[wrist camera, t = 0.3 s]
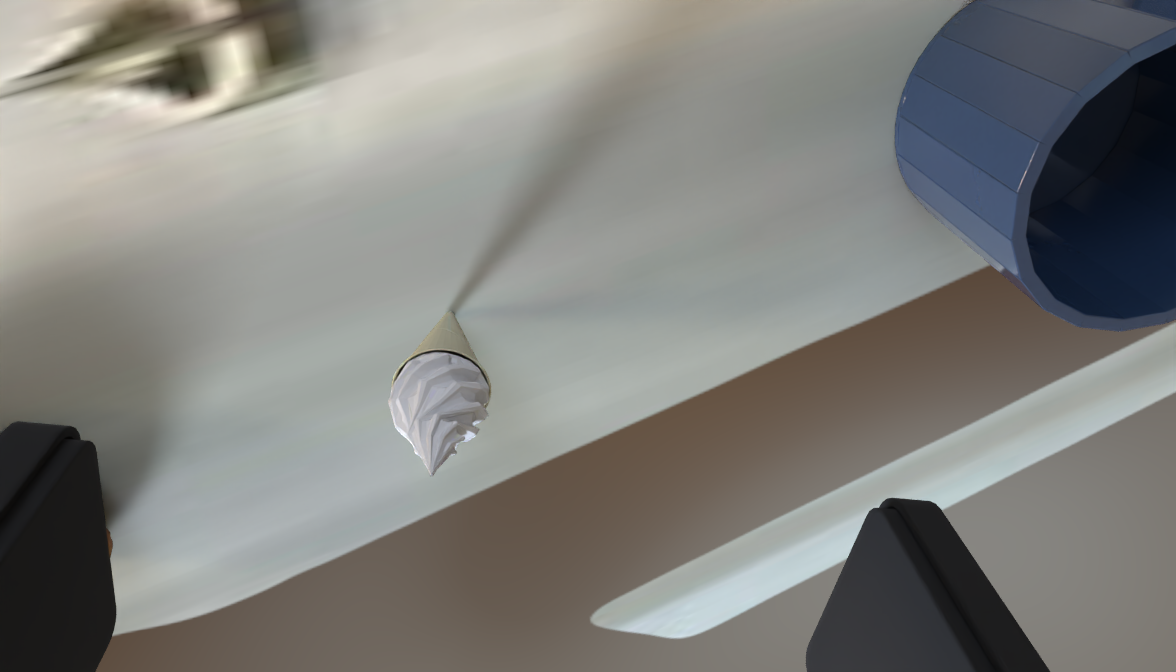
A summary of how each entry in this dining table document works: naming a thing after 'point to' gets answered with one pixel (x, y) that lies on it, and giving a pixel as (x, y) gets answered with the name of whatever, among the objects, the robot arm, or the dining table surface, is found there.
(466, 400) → the ice cream cone
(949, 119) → the pot
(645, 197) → the dining table surface
